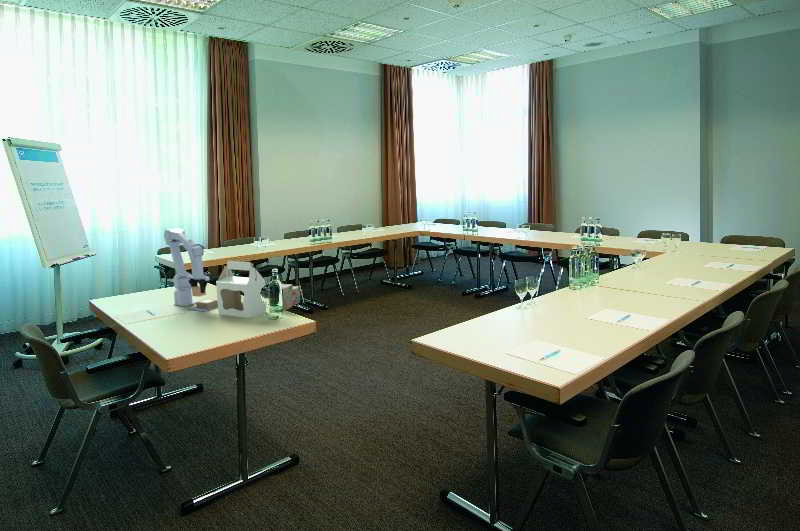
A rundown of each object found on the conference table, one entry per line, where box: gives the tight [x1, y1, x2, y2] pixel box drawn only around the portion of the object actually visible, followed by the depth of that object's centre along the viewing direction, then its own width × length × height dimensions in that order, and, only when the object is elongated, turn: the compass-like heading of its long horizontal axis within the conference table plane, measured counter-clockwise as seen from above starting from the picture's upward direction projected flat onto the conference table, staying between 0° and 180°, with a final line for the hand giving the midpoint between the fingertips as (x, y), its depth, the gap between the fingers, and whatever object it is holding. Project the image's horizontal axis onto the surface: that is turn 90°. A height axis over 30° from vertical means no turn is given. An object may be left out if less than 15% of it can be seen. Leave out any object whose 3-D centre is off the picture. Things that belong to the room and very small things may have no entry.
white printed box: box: [281, 283, 301, 311], centre depth 298 cm, size 21×6×12 cm, turn 167°
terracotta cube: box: [191, 285, 207, 297], centre depth 296 cm, size 5×5×5 cm
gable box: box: [216, 260, 267, 319], centre depth 283 cm, size 22×13×28 cm, turn 63°
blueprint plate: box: [188, 298, 218, 313], centre depth 300 cm, size 12×16×4 cm
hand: (199, 292), depth 296 cm, fingers closed on terracotta cube, 5 cm apart
